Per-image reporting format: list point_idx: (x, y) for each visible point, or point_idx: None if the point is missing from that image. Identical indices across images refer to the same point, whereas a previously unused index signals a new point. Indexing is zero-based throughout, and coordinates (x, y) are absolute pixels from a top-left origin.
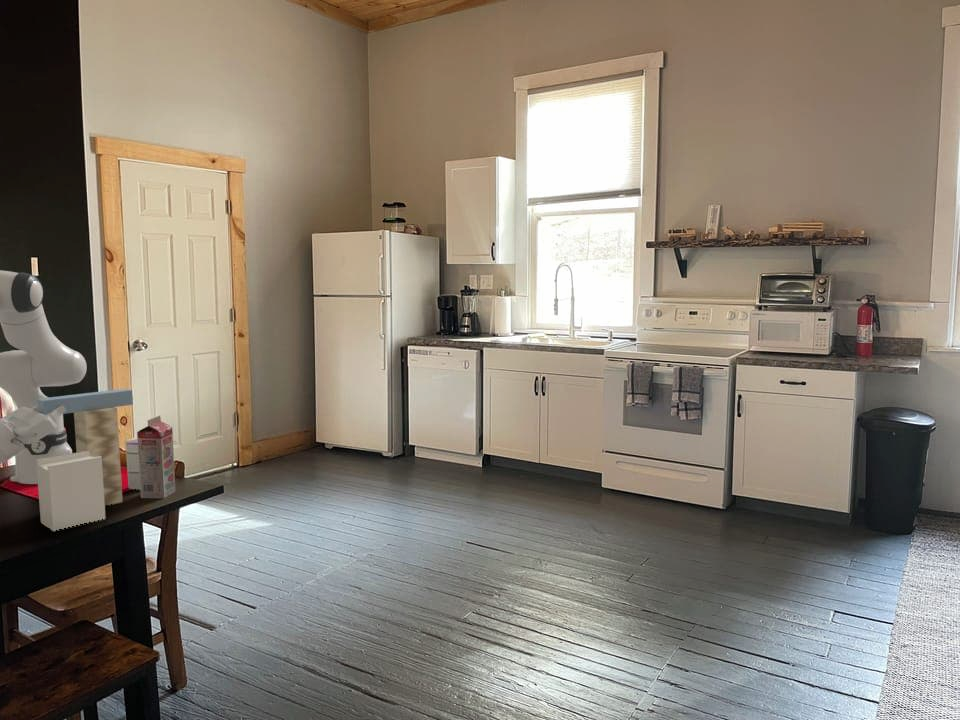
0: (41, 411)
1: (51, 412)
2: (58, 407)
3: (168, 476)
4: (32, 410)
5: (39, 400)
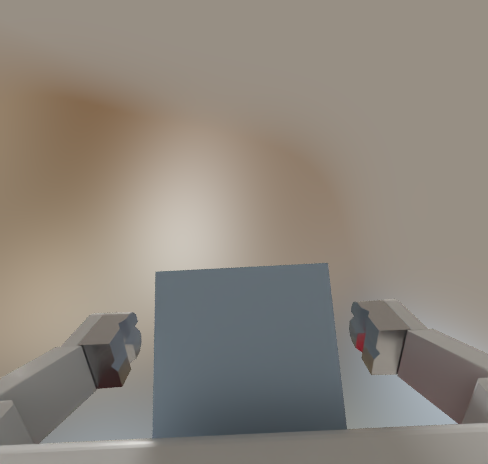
0: (271, 407)
1: (484, 364)
2: (404, 313)
3: None
4: (115, 451)
5: (221, 277)
